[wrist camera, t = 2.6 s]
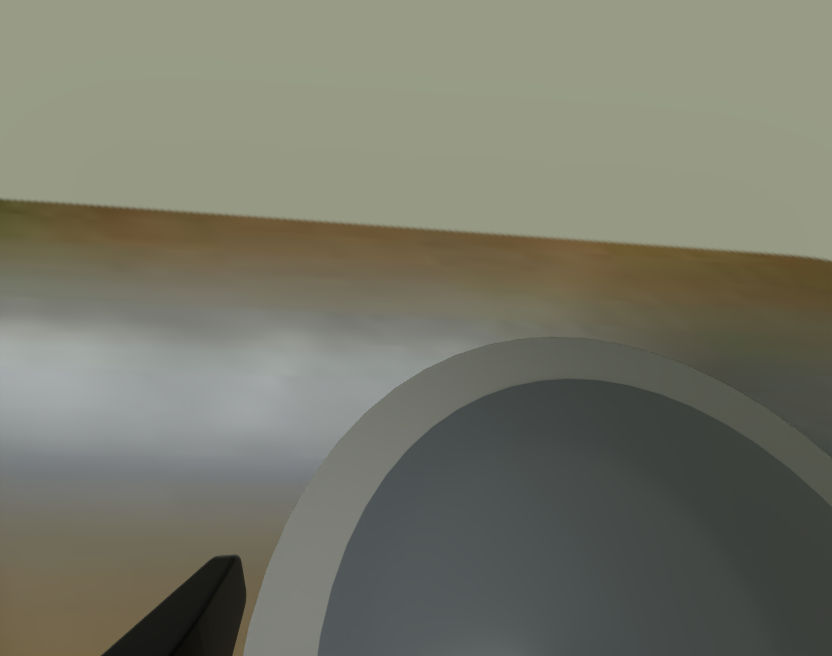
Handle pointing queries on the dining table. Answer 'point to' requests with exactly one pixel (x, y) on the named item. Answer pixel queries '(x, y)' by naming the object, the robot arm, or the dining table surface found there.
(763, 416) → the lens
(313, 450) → the dining table surface
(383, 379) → the dining table surface
